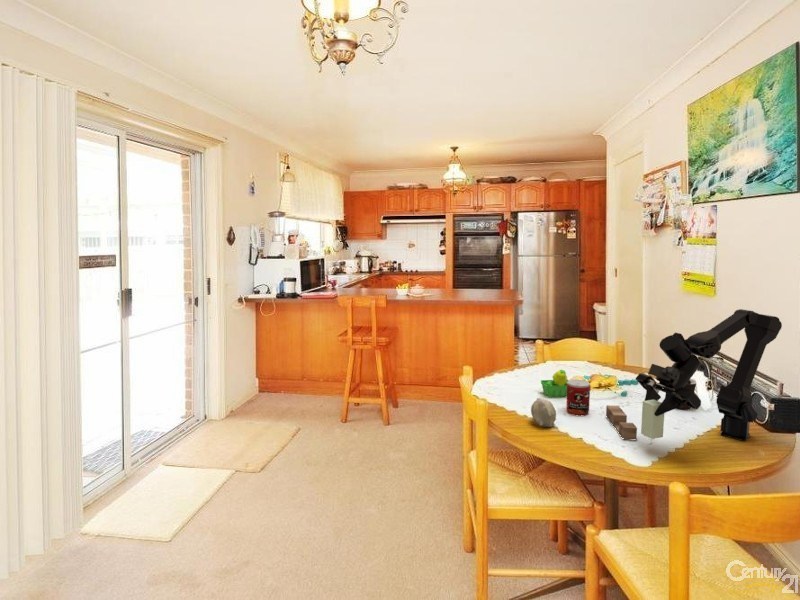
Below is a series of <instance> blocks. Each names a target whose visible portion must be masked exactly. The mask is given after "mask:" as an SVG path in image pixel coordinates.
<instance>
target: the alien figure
mask: <svg viewBox="0 0 800 600" xmlns="http://www.w3.org/2000/svg"><path fill="white" fill-rule="evenodd" d="M603 376H613V375H611V374H604V375H603ZM614 376H615V377H616V378H617V376H616V375H614ZM582 377H584V378H585V379H587V380H589V378H590V377H591V375H583V376H582ZM617 380H618V383H619V385H618V386H620V387H621V386H622V387H624V385H625V386H631V385H633V386H638V385H639V382H638V381H637V380H636V378H632V379H624V380H622V379H617ZM627 396H628V391H627V390H624V391H623V392H622V393H621V396H620V397H623V398H624V397H625V398H626V397H627Z"/></svg>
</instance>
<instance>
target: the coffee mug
mask: <svg viewBox="0 0 800 600" xmlns="http://www.w3.org/2000/svg"><path fill="white" fill-rule="evenodd" d="M690 381H691V382H692V383H691V384H690V385H688V384H686V385H685V386H684V387H683V388H686V389H689V390H692V391H694V392H695V391H696V387H697V386H696V385H697V381H696V380H695V379H692V378H690ZM687 402H688V401H686V402H685V403H684V405H685V407H679V408H676V409H675V410H681V411H690V410H691V409H692V408H691V407H688V405H687Z"/></svg>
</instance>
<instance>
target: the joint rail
mask: <svg viewBox="0 0 800 600" xmlns="http://www.w3.org/2000/svg"><path fill="white" fill-rule="evenodd" d="M605 407H606V411H605V417H606V416H607V417H606V419H607V420H608V419H609V420H610V421H609V420H608V421H609V422H611V423H612V424H613V425H612V424H611V423H610V424H611V425H612V427H613V426H614V427H615V428H616V430H617V431H618V432H619V434H620V435H621V436H620V435H619V434H618V435H619V436H620V438H621V437H622V438H624V439H636V440H637V438H638V437H637V434H638V427H637V426H636V425H635V424H634V423H633V422H627V419H628V418H627V417H628V415H627V414H626V413H625V412H624V410H623V409H622V408H621V407H620V406H619V405H606V406H605ZM614 427H613V428H614ZM615 428H614V429H615ZM616 430H615V431H616ZM617 431H616V432H617ZM618 432H617V433H618ZM622 438H621V439H622Z"/></svg>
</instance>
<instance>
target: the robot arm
mask: <svg viewBox="0 0 800 600" xmlns="http://www.w3.org/2000/svg"><path fill="white" fill-rule="evenodd" d="M782 325H783V324H782V321H781V320H780V318H779V317H777V316H774V315H769V314H763V313H762V314H761V313H758V312H755V311H753V310H749V309H742V308H741V309H740V308H739V309H736V310H734V312H733V314H731V315H729V316H728V317H727V318H724V319H723V320H722V321H721V322H719V323H718V324H717V325H716V324H715V326H713V327H711V329H709V330H707V331H706V330H705V331H701V332H697V333H695V334H692V335H690V336H688V337H687V338H686V339H685V337H684V336H683V334H682V333H678V332H673V334H671V335H668V336H666V337H664V338H662V339H660V342H659V347H660V350H661V351H662V352H663V353H664V355H666V356H667V358H668V359H669V360H670V361H671V362H674V363H672V364H671V366H669V365H667V366H665V367H664V366H661V365H658V364H654V363H651V365H650V368H649V370H648V372H647V374H646V373H638V375H637V376H636V377H635V379H636V380H637V381H638V385H640V386H641V387H642V388H643V389H644V390H645V391H646V392H645V398H644V400H643V401H647V400H653V399H654V400H656V401H659V400H660V399H662V396H661V395H660V394H659V392H663V393H665V395H664V399H663V400H662V401H661V404H660V406H659V407H658V408H657V410H656V412H655V413H654V415H655V416H659V415H662V414H664V415H665V414H667V413H668V412H671V411H673V410H677V409H676V408H679V407H685V405H684V403H685V402H686V401H688V402H687V405H688V407H691V409H694V410H699V408H700V407H701V405H702V399H700V397H699V396H698V395H697V393H695V391H692V390H689V389H686V388H683V387H684V386H685V385H686V384H688V385H690V384H691V383H692V382H691V381H690V379H692V377H693V376H694V375H695V373H696V372H697V370H700V371H705V370H706V369H705V368H706V367H705V363H704V362H705V361H704V360H702V359H700V358H699V357H702V358H704V359H711V358H713V357H714V356H715V355H717V354H718V352H719V351H721V348H722V344H724V343H725V342H727V341H728V340H729V339H731V338H732V337H734V336H735V335H736V334H738V333H739V332H741V331H742V330H744V333H745V338H746V342H745V344H744V347H743V350H742V352H741V355H740V357H739V360H738V362H737V365H736V368H735V370H734V373H733V376H732V379H731V382H729V383H728V384H726V385H721V386H720V388H719V390H718V393H717V395H716V405H717V409H718V414H719V413H720V414H723V417H722V418H721V421H720V435H721V436H723V437H728V438H732V439H736V440H740V441H745V442H746V441H747V440H748V439H749V437H750V436H751V433H750V424H751V423H753V422H754V421H756V420H757V417H758V412H757V411H756V410H755V409H754V408H753V406H752V403H753V395H752V393H751V390H750V388H751V386H752V384H753V382H754V378H755V376H756V374H757V370H758V368H759V366H760V362H761V360H762V358H763V355H764V352H765V349H766V347H767V345H769V344H770V343H771V342H773V341H774V340H775V339H777V337H778V335H779V333H780V331H781V330H782V328H783V327H782ZM653 376H654V377H655V379H656V380H655V379H654V378H653Z"/></svg>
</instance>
